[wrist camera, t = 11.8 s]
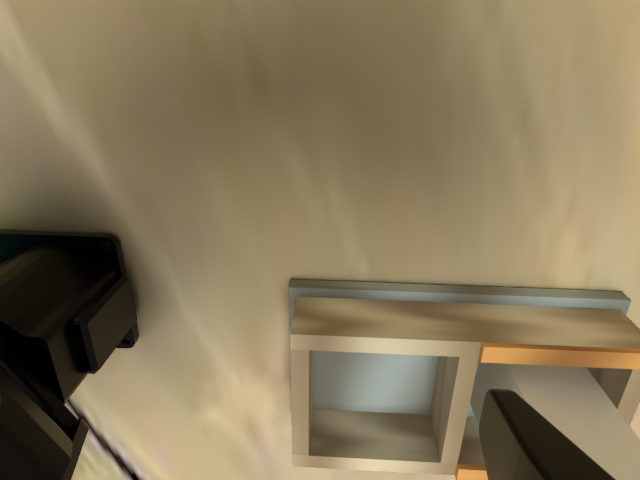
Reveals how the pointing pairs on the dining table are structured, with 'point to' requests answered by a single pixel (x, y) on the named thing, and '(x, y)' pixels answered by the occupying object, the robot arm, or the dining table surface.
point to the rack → (435, 365)
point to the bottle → (568, 410)
